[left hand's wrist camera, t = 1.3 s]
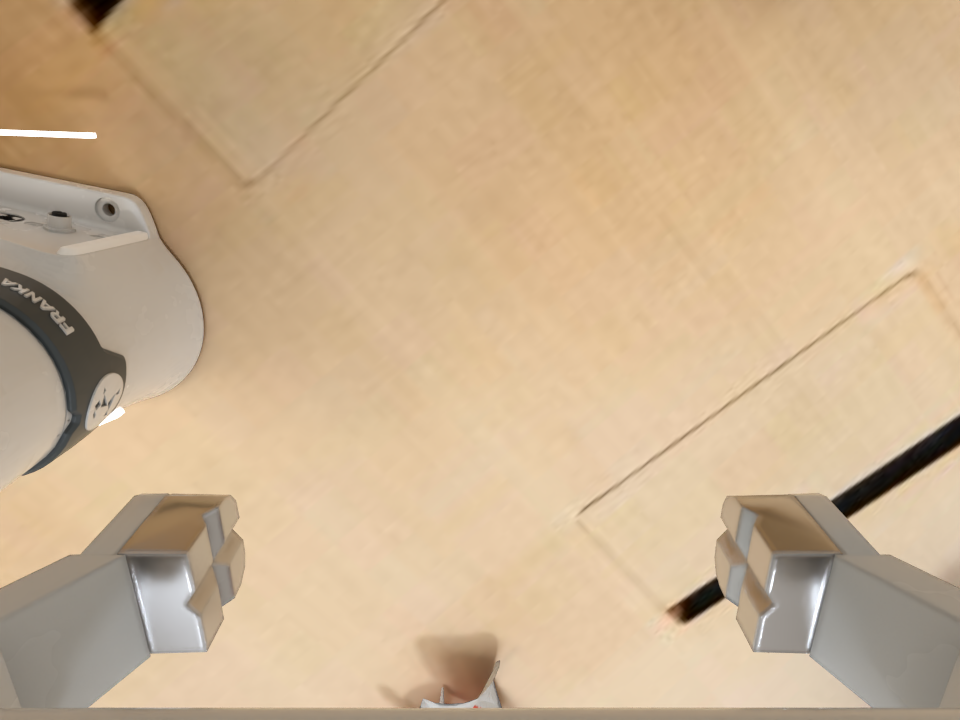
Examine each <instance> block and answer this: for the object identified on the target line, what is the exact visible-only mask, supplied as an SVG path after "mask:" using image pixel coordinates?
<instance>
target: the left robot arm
mask: <svg viewBox="0 0 960 720" xmlns="http://www.w3.org/2000/svg"><path fill="white" fill-rule="evenodd" d="M0 135H11V136H39V137H67V138H96V133H81V132H53V131H26V130H0ZM109 204H111V205H113V207H114V208H115V213H114V214H112V213H111V212H110V211H109V209H108V205H109ZM203 337H204V320H203V313H202V308H201V304H200V301H199V298H198V295H197V292H196V290H195V288H194V286H193V284H192V282H191V280H190V278H189V276H188V275H187V273H186V272H185V270H184V269H183V267H182V266H181V265H180V263H179V262H178V261H177V260H176V259H175V257H174V256H173V255H172V254H171V253H170V251H169V250H168V249H167V248H166V246H165V245H164V244H163V242H162V241H161V239H160V237H159V235H158V232H157V229H156V226H155V223H154V221H153V218H152V216H151V213H150V211H149V209H148V207H147V206H146V204H145V203H144V202H143V201H142V200H141V199H140V198H139V197H137V196H135V195H133V194H129V193H125V192H120V191H115V190H110V189H105V188H100V187H95V186H90V185H85V184H80V183H75V182H70V181H65V180H60V179H56V178H51V177H46V176H41V175H36V174H31V173H26V172H21V171H16V170H11V169H6V168H1V167H0V492H1V491H2V490H3V489H5V488H6V487H7V486H8V485H10V484H11V483H12V482H14V481H15V480H16V479H18V478H19V477H20V476H23V475H26V474H29V473H32V472H35V471H37V470H39V469H41V468H43V467H45V466H46V465H47V464H49V463H50V462H52V461H53V460H55V459H56V458H58V457H59V456H60V455H62V454H63V453H65V452H66V451H67V450H69V449H70V448H72V447H73V446H74V445H76V444H77V443H78V442H79V441H81V440H82V439H83V438H85V437H86V436H87V435H88V434H90V433H91V432H92V431H93V430H94V429H95V428H97V427H98V426H99V425H101V424H104V423H106V422H109V421H111V420H114V419H116V418H118V417H120V416H121V415H122V414H123V413H125V411H124V410H123V408H125V407H127V406H129V405H132V404H134V403H137V402H140V401H143V400H146V399H150V398H153V397H156V396H159V395H161V394H164V393H165V392H167V391H169V390H171V389H172V388H174V387H175V386H177V385H178V384H179V383H180V382H182V381H183V380H184V379H185V378H186V376H187V375H188V374H189V373H190V371H191V370H192V368H193V367H194V365H195V363H196V361H197V359H198V357H199V354H200V351H201V348H202V343H203ZM120 409H121V410H120ZM238 519H239V513H238V508H237V503H236V500H235V499H234V498H233V497H232V496H231V495H208V494H140V495H136V496H134V497H133V498H132V499H131V500H130V501H129V502H128V503H127V504H126V505H125V507H124V508H123V509H122V510H121V511H120V512H119V513H118V514H117V515H116V516H115V517H114V518H113V520H112V521H111V522H110V523H109V524H108V525H107V526H106V527H105V528H104V529H103V530H102V532H101V533H100V534H99V535H98V536H97V537H96V538H95V539H94V540H93V541H92V542H91V543H90V545H89V546H88V547H87V548H86V549H85V550H84V551H83V552H82V553H81V554H80V555H69V556H67V557H64V558H62V559H60V560H58V561H56V562H54V563H52V564H50V565H48V566H46V567H44V568H42V569H40V570H37V571H35V572H33V573H31V574H29V575H27V576H25V577H23V578H21V579H19V580H17V581H15V582H13V583H10V584H8V585H6V586H4V587H2V588H0V720H960V588H958V587H956V586H954V585H951V584H949V583H947V582H945V581H943V580H941V579H939V578H937V577H935V576H933V575H931V574H929V573H927V572H925V571H922V570H920V569H918V568H916V567H914V566H912V565H910V564H908V563H906V562H904V561H902V560H900V559H898V558H896V557H893V556H891V555H880V554H879V553H878V552H877V551H876V550H875V549H874V548H873V547H872V546H871V545H870V543H869V542H868V541H867V540H866V539H865V538H864V537H863V536H862V535H861V534H860V533H859V531H858V530H857V529H856V528H855V527H854V526H853V525H852V524H851V523H850V522H849V521H848V520H847V518H846V517H845V516H844V515H843V514H842V513H841V512H840V511H839V510H838V509H837V508H836V506H835V505H834V504H833V503H832V502H831V501H830V500H829V499H828V498H827V497H826V496H824V495H822V494H819V493H809V494H788V495H747V496H727V497H726V499H725V501H724V503H723V507H722V512H721V519H722V520H723V522H724V524H725V526H726V527H727V530H726V531H725V532H724V533H723V534H722V535H721V536H720V537H719V538H718V539H717V543H716V550H715V567H716V575H717V578H718V582H719V585H720V588H721V590H722V592H723V594H724V596H725V598H726V599H728V600H729V601H731V602H732V603H734V604H735V605H736V606H738V611H737V616H736V620H737V622H738V624H739V625H740V627H741V629H742V631H743V633H744V635H745V637H746V639H747V641H748V643H749V645H750V647H751V649H752V650H753V652H775V653H810V657H811V658H812V659H814V660H815V661H816V662H817V663H818V664H820V665H821V666H822V667H823V668H825V669H826V670H827V671H828V672H829V673H831V674H832V675H833V676H834V677H835V678H837V679H838V680H839V681H840V682H842V683H843V684H844V685H845V686H846V687H848V688H849V689H850V690H851V691H853V692H854V693H855V694H856V695H857V696H859V697H860V698H861V699H862V700H863V701H865V702H866V703H867V704H868V705H870V706H871V707H872V708H88V707H89V706H91V705H92V704H93V703H94V702H96V701H97V700H98V699H99V698H100V697H102V696H103V695H104V694H105V693H106V692H108V691H109V690H110V689H111V688H113V687H114V686H115V685H116V684H117V683H119V682H120V681H121V680H122V679H124V678H125V677H126V676H127V675H128V674H130V673H131V672H132V671H133V670H135V669H136V668H137V667H138V666H139V665H141V664H142V663H143V662H144V661H145V660H147V659H148V658H149V657H150V653H184V652H207V651H208V649H209V647H210V645H211V643H212V641H213V639H214V637H215V635H216V633H217V631H218V629H219V627H220V625H221V624H222V622H223V620H224V616H223V611H222V606H224V605H225V604H226V603H228V602H229V601H231V600H232V599H234V598H235V596H236V594H237V592H238V590H239V588H240V586H241V582H242V578H243V573H244V569H245V549H244V542H243V539H242V538H241V537H240V536H239V535H238V534H237V533H236V532H235V531H234V530H233V527H234V526H235V524H236V522H237V520H238Z"/></svg>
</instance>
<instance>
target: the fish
mask: <svg viewBox="0 0 960 720" xmlns="http://www.w3.org/2000/svg"><path fill="white" fill-rule="evenodd" d="M499 664H500V661H497V662H496V664H495V667H494V669H493V672H492V674H491V676H490V677H489V679H488V681H487V683H486V685H485V687H484V689H483V691H482V692H481V694H480V696H479V697H478V698H477V699H475V700H472V701H469V702H466V703H458V704H444V691H443V687H442V690H441V696H440V702H439V703H434V702H431V701H428V700H426V699H423V700H422V703H421V706H420V708H502V707H501V704H500V701H499V698H498V694H497V691H496V687H495V684H494V678H495V676H496V673H497V671H498V669H499Z"/></svg>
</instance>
